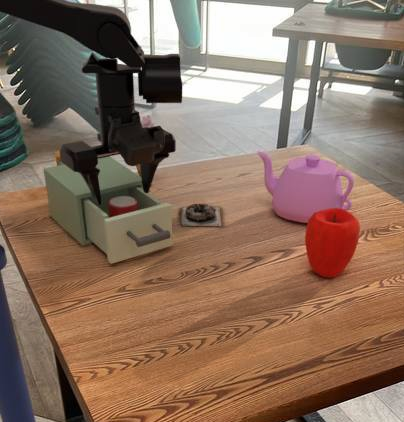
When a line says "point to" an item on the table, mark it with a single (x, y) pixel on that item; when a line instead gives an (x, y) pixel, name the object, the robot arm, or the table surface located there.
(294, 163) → the teapot
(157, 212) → the drawer
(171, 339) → the table surface
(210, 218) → the donut
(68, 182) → the cabinet
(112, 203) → the can
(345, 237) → the apple
